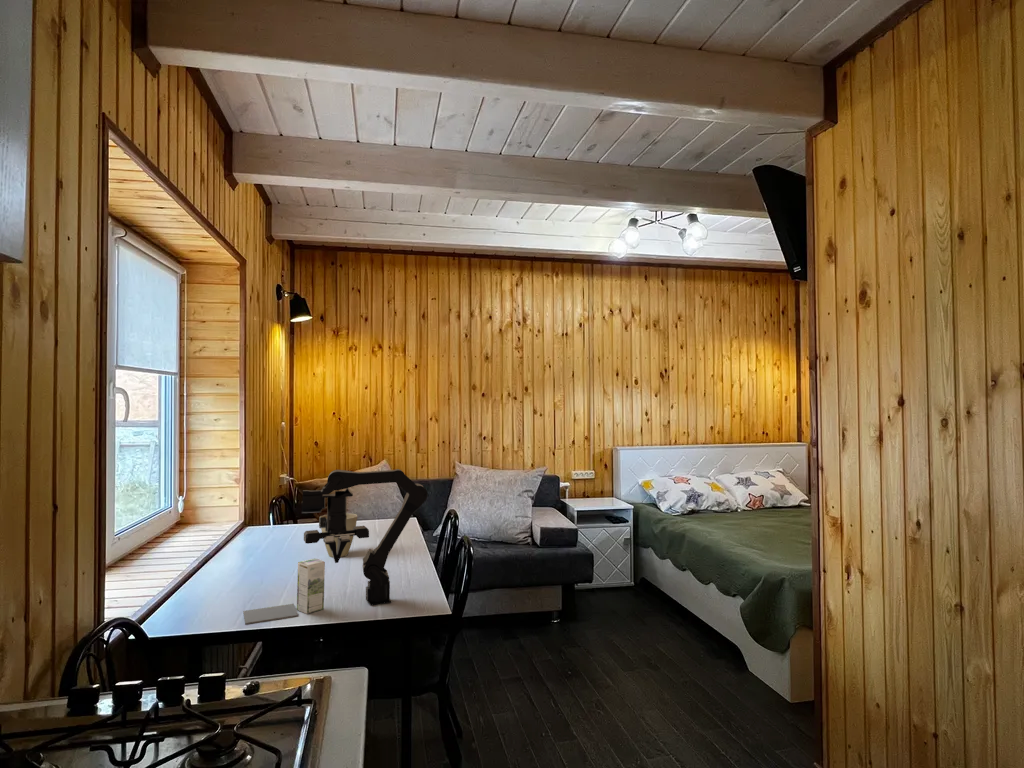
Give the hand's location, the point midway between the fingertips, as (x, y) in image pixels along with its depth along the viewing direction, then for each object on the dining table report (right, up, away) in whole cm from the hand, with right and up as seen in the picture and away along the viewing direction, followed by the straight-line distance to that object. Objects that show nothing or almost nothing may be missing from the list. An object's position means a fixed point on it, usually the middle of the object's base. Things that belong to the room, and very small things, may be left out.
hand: (336, 562), depth 179 cm
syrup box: (-7, -13, -4) cm, 15 cm away
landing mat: (-17, -13, -8) cm, 23 cm away
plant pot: (-18, -16, +61) cm, 65 cm away
